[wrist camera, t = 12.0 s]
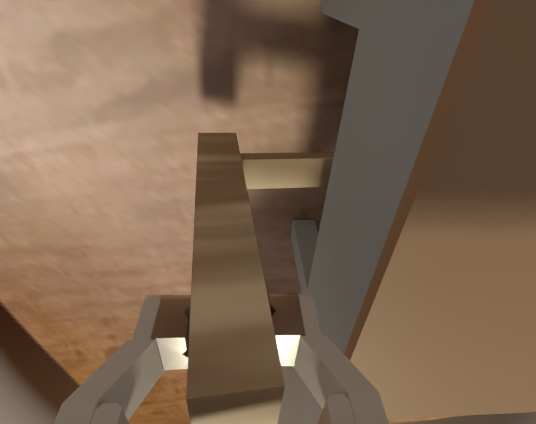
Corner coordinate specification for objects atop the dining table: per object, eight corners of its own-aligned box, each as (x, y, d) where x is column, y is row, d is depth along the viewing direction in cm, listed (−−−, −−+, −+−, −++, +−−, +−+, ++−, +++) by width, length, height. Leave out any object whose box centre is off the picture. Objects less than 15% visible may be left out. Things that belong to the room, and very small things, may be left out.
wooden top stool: (325, -29, 18) (512, -47, 6) (549, -12, 19) (1119, 5, 7) (290, 236, 30) (325, 422, 17) (431, 236, 31) (558, 410, 19)
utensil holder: (318, 296, 36) (368, 504, 21) (358, 355, 44) (413, 533, 30) (207, 337, 39) (187, 540, 25) (263, 385, 47) (273, 558, 33)
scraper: (194, 78, 18) (169, 314, 6) (464, 84, 21) (854, 250, 8) (203, 205, 24) (201, 474, 11) (418, 197, 26) (613, 401, 14)
